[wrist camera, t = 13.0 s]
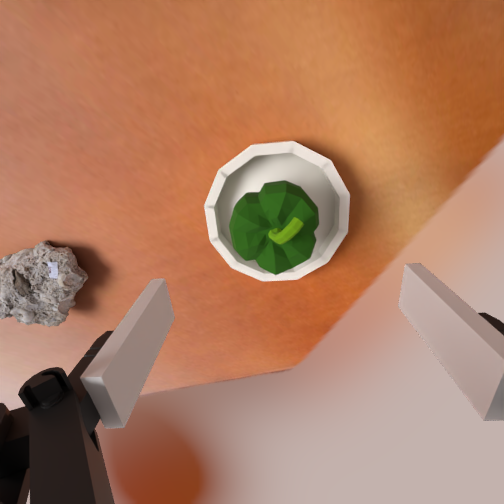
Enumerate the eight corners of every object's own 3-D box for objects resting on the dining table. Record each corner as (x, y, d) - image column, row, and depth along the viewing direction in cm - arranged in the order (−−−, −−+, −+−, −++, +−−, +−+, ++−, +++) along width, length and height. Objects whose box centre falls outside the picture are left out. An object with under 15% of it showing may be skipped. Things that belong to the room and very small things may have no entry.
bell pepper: (257, 257, 33) (254, 305, 24) (223, 196, 30) (205, 225, 21) (323, 227, 31) (346, 267, 22) (293, 160, 28) (306, 174, 19)
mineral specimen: (0, 259, 36) (56, 219, 33) (61, 315, 40) (117, 285, 37) (-46, 284, 31) (14, 240, 27) (29, 345, 35) (90, 314, 31)
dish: (220, 272, 35) (216, 283, 32) (201, 148, 29) (195, 150, 26) (339, 265, 34) (345, 277, 31) (345, 135, 28) (353, 135, 25)
